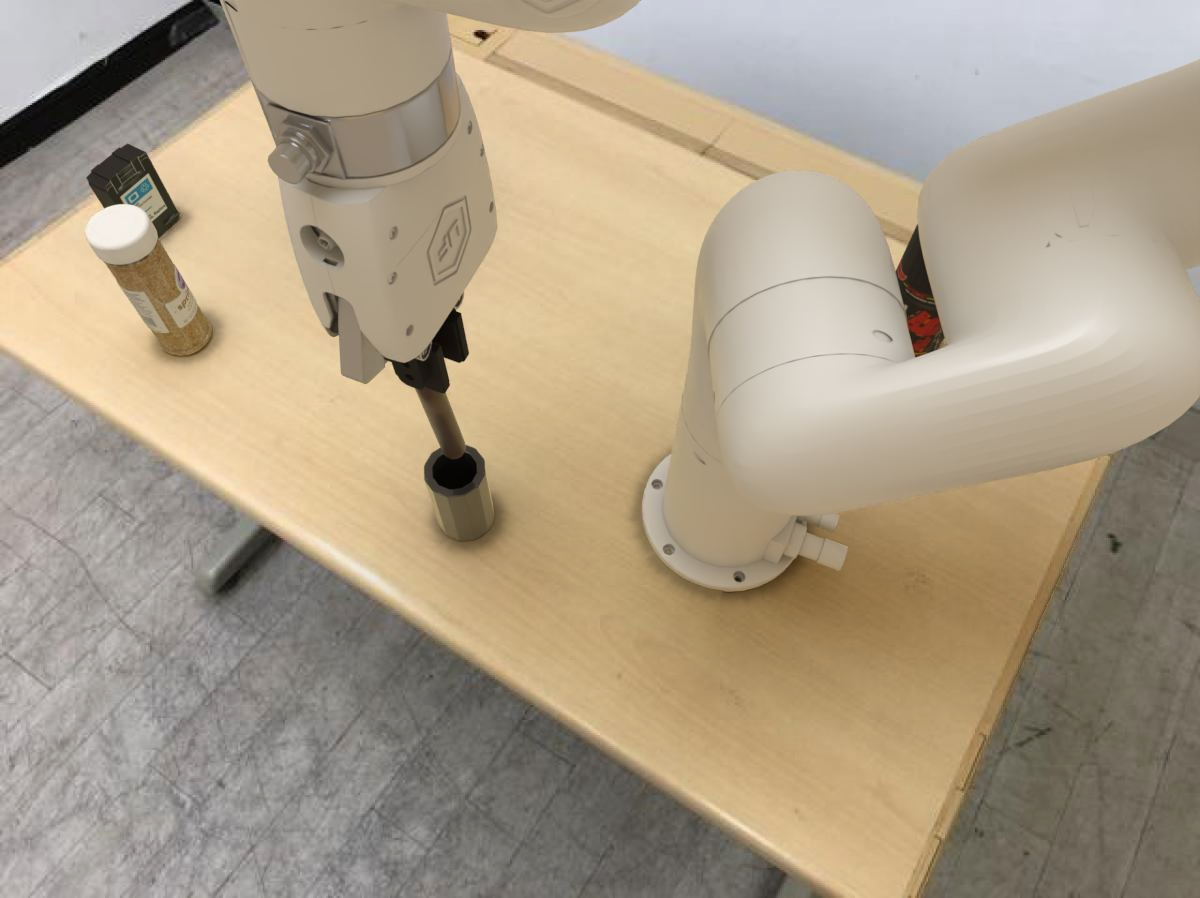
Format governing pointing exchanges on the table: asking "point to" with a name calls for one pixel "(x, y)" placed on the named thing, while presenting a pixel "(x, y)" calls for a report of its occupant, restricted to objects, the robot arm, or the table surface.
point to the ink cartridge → (133, 186)
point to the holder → (460, 494)
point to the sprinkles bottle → (148, 277)
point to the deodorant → (918, 299)
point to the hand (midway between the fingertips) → (433, 365)
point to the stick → (442, 422)
